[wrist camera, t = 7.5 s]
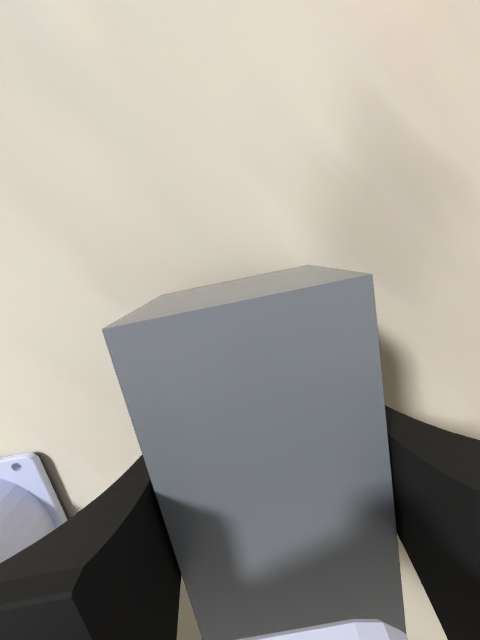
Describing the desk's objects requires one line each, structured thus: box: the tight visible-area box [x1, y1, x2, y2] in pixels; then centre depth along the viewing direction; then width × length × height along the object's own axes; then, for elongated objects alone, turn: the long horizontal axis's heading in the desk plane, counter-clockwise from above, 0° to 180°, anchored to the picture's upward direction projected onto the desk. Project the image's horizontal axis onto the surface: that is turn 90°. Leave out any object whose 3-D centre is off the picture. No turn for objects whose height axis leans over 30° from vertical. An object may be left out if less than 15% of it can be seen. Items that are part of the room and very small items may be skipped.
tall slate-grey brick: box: [102, 265, 406, 640], centre depth 10 cm, size 6×12×6 cm, turn 11°
